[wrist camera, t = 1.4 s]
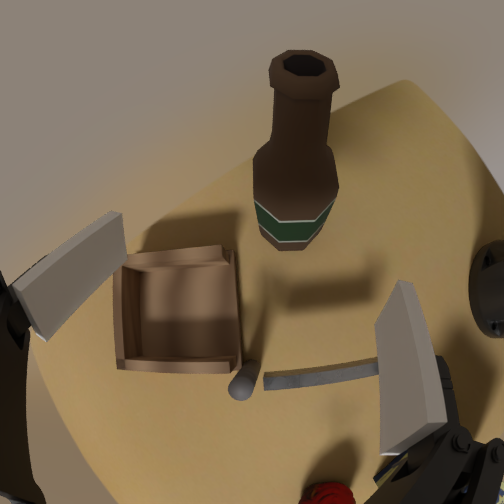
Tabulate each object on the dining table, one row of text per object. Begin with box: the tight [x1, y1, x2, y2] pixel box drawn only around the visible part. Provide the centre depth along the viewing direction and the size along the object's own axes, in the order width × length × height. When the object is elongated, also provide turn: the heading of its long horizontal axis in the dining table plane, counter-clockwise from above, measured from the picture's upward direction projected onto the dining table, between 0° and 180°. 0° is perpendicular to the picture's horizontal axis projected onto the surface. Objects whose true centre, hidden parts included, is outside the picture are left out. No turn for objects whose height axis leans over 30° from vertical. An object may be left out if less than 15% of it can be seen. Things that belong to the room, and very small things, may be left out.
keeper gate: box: [263, 357, 379, 391], centre depth 21 cm, size 12×1×4 cm, turn 94°
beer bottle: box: [253, 50, 340, 251], centre depth 22 cm, size 8×8×24 cm
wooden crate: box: [113, 245, 260, 401], centre depth 27 cm, size 16×15×10 cm
